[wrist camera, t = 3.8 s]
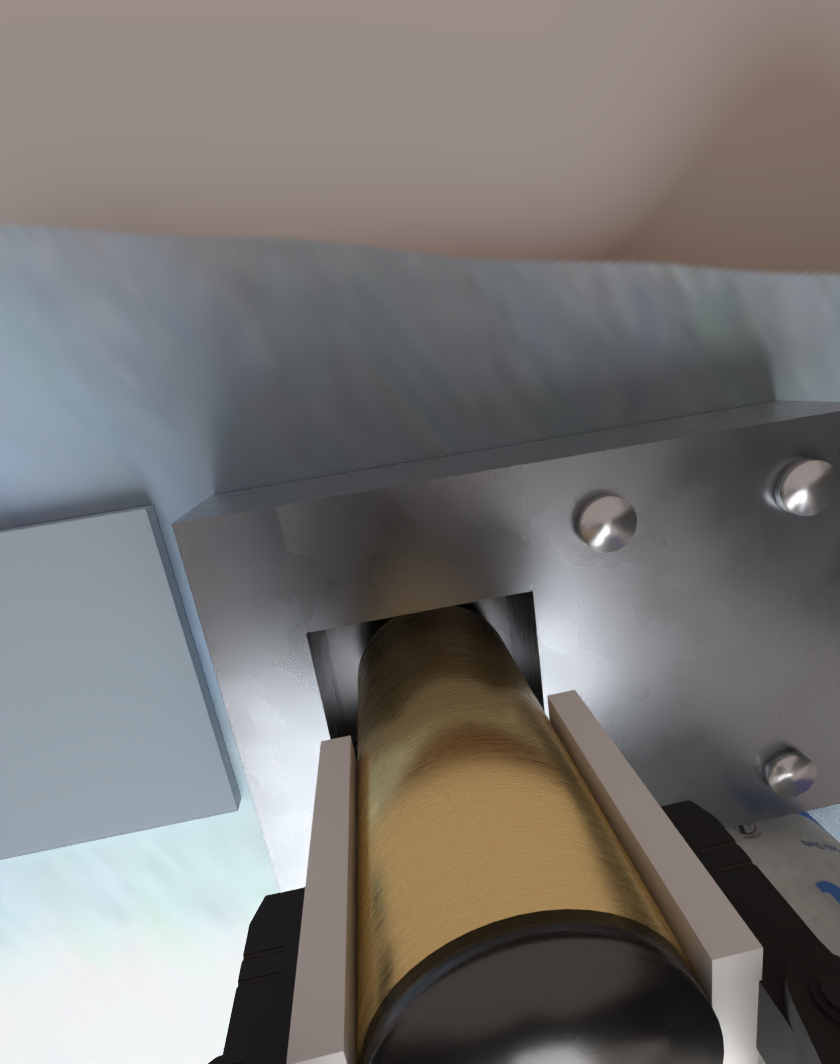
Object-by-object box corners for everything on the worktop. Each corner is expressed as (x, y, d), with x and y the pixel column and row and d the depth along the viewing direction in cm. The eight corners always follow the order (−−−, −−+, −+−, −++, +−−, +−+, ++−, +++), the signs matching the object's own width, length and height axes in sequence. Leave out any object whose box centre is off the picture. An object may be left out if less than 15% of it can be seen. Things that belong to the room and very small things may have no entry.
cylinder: (372, 753, 18) (391, 1257, 8) (344, 620, 17) (320, 1009, 6) (515, 724, 18) (724, 1166, 8) (500, 590, 17) (731, 911, 7)
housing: (302, 828, 21) (287, 938, 17) (213, 494, 17) (166, 527, 13) (764, 731, 22) (858, 809, 18) (777, 400, 18) (900, 403, 14)
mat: (-78, 864, 20) (-91, 878, 19) (-235, 569, 16) (-258, 575, 16) (241, 798, 20) (237, 810, 20) (152, 504, 17) (145, 508, 16)
